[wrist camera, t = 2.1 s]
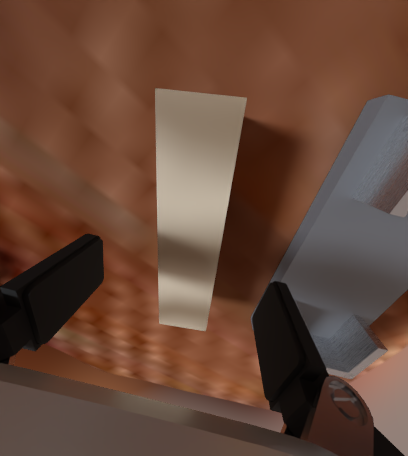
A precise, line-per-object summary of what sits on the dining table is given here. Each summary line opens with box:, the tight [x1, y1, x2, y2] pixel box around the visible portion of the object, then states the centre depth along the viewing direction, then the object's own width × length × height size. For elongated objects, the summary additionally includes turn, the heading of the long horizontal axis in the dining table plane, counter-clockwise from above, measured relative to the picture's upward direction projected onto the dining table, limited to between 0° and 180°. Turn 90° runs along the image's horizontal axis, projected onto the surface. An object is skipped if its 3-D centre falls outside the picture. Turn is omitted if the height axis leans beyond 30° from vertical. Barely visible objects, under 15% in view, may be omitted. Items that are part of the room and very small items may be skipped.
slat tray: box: [251, 95, 408, 339], centre depth 15 cm, size 21×10×2 cm, turn 167°
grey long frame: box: [294, 116, 408, 379], centre depth 13 cm, size 20×7×3 cm, turn 167°
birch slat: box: [155, 88, 247, 331], centre depth 13 cm, size 16×4×5 cm, turn 174°
